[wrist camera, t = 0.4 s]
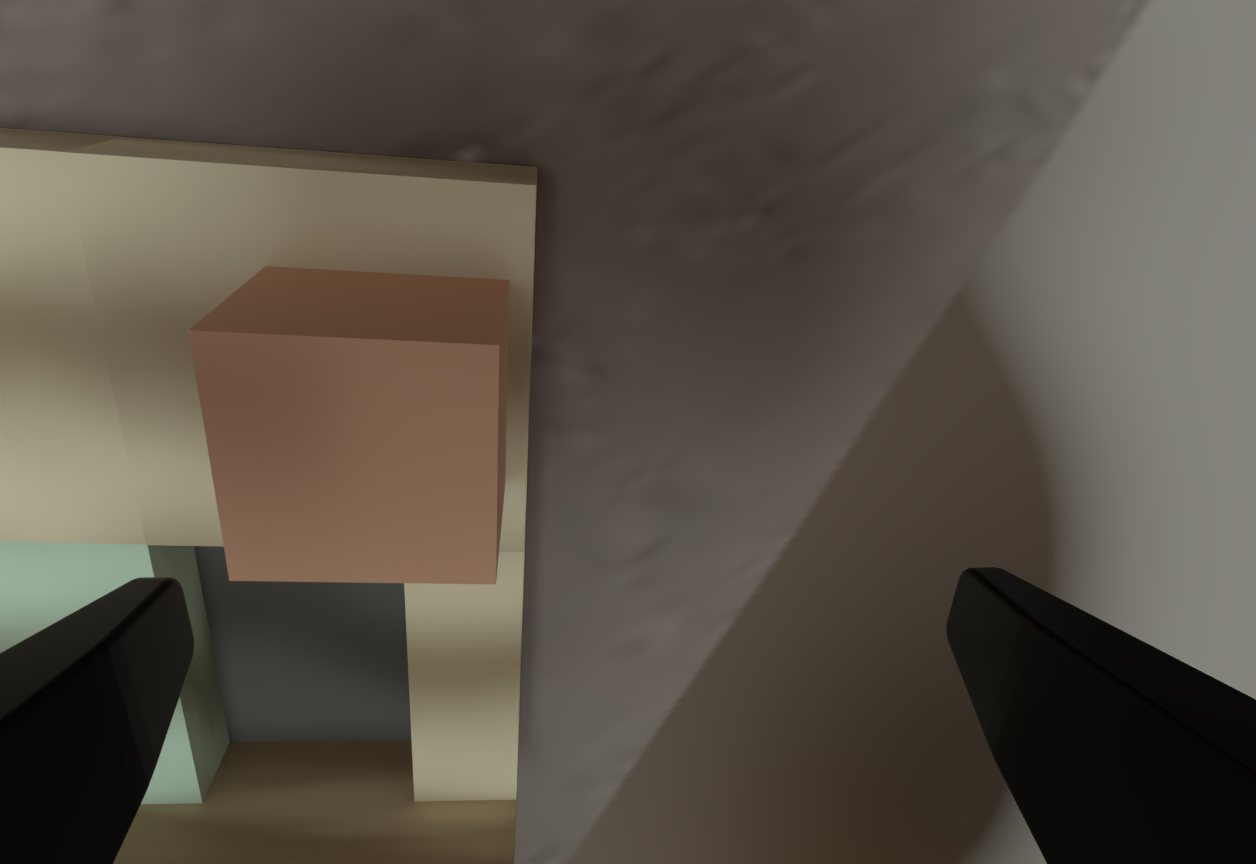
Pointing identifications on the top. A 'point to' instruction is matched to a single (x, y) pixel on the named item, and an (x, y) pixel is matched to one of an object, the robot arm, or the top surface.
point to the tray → (186, 503)
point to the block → (357, 425)
